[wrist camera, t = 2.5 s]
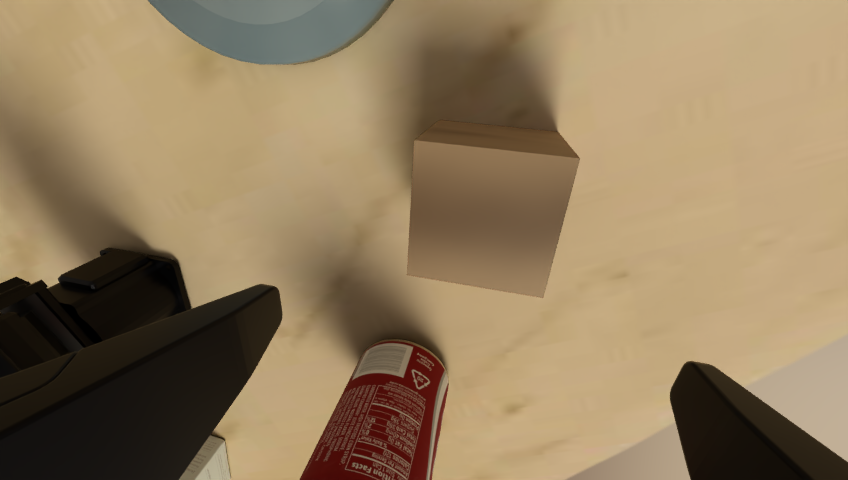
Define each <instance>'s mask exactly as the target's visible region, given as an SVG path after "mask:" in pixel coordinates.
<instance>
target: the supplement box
mask: <svg viewBox="0 0 848 480" xmlns="http://www.w3.org/2000/svg"><path fill="white" fill-rule="evenodd" d="M230 479H231V477H230V472H229V465H228V459H227V453H226V447H225V441H224V440H223V439H220V438H217V437H214V436H212V435H210V436H209V437H208V439H207V440H206V442H205V443H204V445H203V446H202V448H201V449H200V450H199V452H198V453H197V455H196V456H195V458H194V459H193V460H192V462H191V463H190V465H189V466H188V468H187V469H186V470H185V472H184V473H183V475H182V476H181V478H180V479H179V480H230Z"/></svg>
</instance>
